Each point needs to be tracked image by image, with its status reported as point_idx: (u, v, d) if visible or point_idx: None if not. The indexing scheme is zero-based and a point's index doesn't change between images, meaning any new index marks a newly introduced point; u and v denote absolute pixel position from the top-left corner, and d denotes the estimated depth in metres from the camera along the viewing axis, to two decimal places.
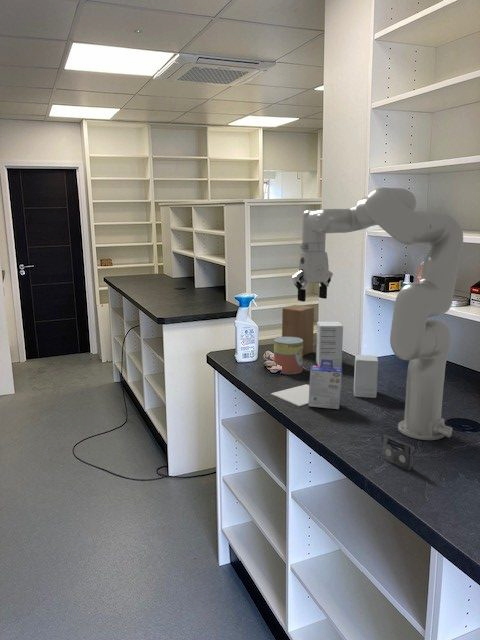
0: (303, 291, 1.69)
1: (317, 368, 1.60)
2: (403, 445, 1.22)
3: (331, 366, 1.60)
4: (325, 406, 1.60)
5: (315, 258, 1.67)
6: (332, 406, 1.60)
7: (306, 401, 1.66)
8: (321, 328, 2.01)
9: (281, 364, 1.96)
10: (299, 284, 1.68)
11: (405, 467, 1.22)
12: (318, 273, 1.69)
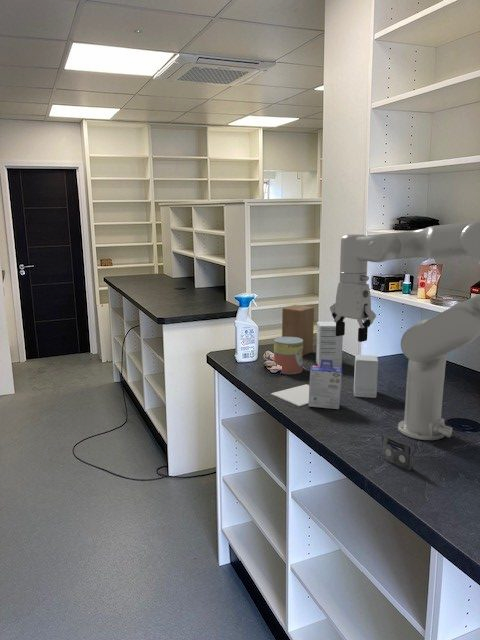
0: None
1: (317, 368, 1.60)
2: (403, 445, 1.22)
3: (331, 366, 1.60)
4: (325, 406, 1.60)
5: None
6: (332, 406, 1.60)
7: (306, 401, 1.66)
8: (321, 328, 2.01)
9: (281, 364, 1.96)
10: None
11: (405, 467, 1.22)
12: None
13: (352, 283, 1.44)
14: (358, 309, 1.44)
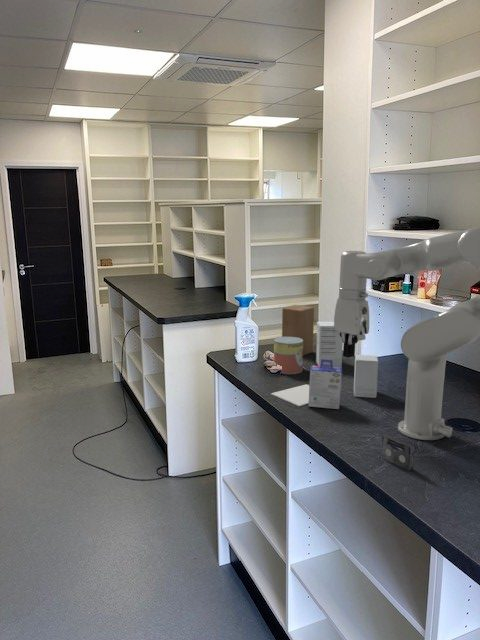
0: None
1: (317, 368, 1.60)
2: (403, 445, 1.22)
3: (331, 366, 1.60)
4: (325, 406, 1.60)
5: None
6: (332, 406, 1.60)
7: (306, 401, 1.66)
8: (321, 328, 2.01)
9: (281, 364, 1.96)
10: None
11: (405, 467, 1.22)
12: None
13: (351, 300, 1.45)
14: (357, 325, 1.45)
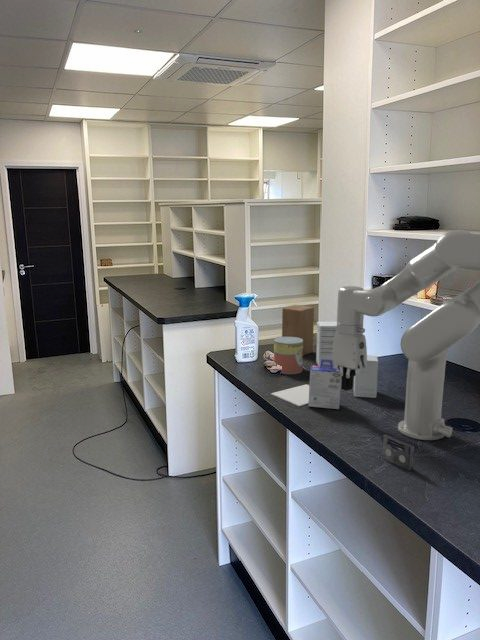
0: None
1: (317, 368, 1.60)
2: (403, 445, 1.22)
3: (331, 366, 1.60)
4: (325, 406, 1.60)
5: None
6: (332, 406, 1.60)
7: (306, 401, 1.66)
8: (321, 328, 2.01)
9: (281, 364, 1.96)
10: None
11: (405, 467, 1.22)
12: None
13: (349, 335, 1.47)
14: (354, 360, 1.47)
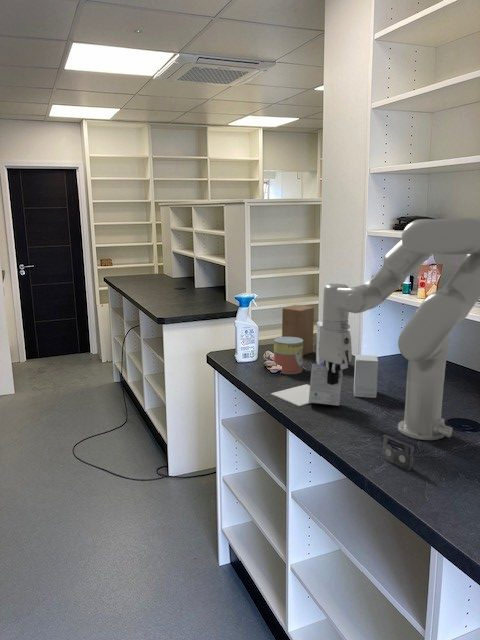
0: None
1: (318, 364, 1.63)
2: (403, 445, 1.22)
3: None
4: (326, 402, 1.60)
5: None
6: (332, 402, 1.60)
7: (306, 401, 1.66)
8: (321, 328, 2.01)
9: (281, 364, 1.96)
10: None
11: (405, 467, 1.22)
12: None
13: (334, 331, 1.52)
14: (339, 355, 1.52)
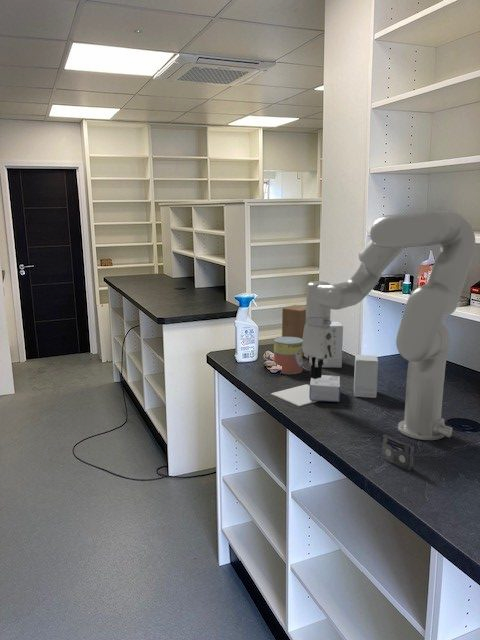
0: None
1: None
2: (403, 445, 1.22)
3: None
4: (327, 385, 1.65)
5: None
6: (333, 385, 1.65)
7: (306, 401, 1.66)
8: None
9: (281, 364, 1.96)
10: None
11: (405, 467, 1.22)
12: None
13: (316, 326, 1.57)
14: (321, 350, 1.58)
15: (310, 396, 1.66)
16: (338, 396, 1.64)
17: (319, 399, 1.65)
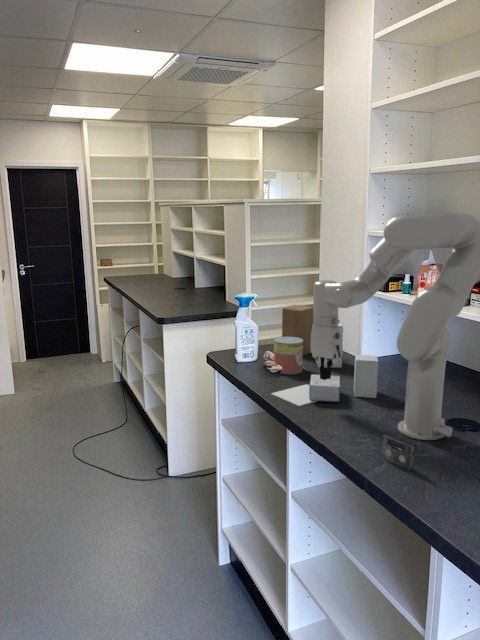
0: None
1: None
2: (403, 445, 1.22)
3: None
4: (326, 385, 1.65)
5: None
6: (333, 385, 1.65)
7: (306, 401, 1.66)
8: None
9: (281, 364, 1.96)
10: None
11: (405, 467, 1.22)
12: None
13: (324, 326, 1.55)
14: (330, 350, 1.55)
15: (310, 396, 1.66)
16: (338, 396, 1.64)
17: (319, 400, 1.65)
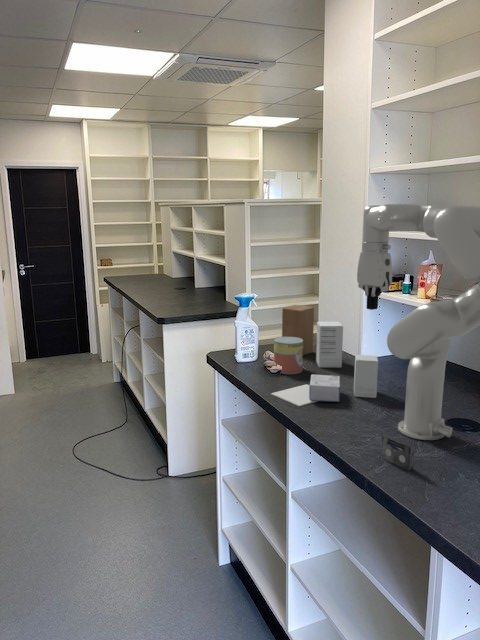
0: None
1: None
2: (403, 445, 1.22)
3: None
4: (326, 385, 1.65)
5: None
6: (333, 385, 1.65)
7: (306, 401, 1.66)
8: (321, 328, 2.01)
9: (281, 364, 1.96)
10: None
11: (405, 467, 1.22)
12: None
13: (374, 252, 1.50)
14: (380, 277, 1.50)
15: (310, 396, 1.66)
16: (338, 396, 1.64)
17: (319, 400, 1.65)
